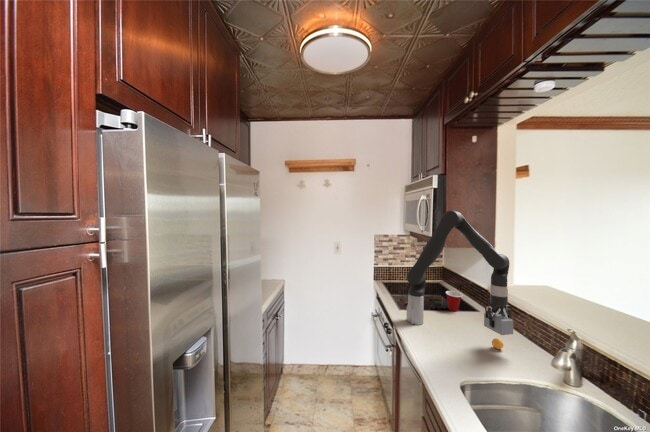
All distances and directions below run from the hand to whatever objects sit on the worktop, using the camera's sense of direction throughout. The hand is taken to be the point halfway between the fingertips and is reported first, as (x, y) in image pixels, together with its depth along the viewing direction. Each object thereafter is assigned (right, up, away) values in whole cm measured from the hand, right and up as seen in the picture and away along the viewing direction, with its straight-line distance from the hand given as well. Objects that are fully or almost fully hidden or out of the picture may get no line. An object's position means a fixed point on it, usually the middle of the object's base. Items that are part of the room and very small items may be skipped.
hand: (498, 326), depth 134 cm
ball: (0, -9, 0) cm, 9 cm away
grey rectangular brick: (0, -2, 0) cm, 2 cm away
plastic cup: (+3, -11, +53) cm, 54 cm away
